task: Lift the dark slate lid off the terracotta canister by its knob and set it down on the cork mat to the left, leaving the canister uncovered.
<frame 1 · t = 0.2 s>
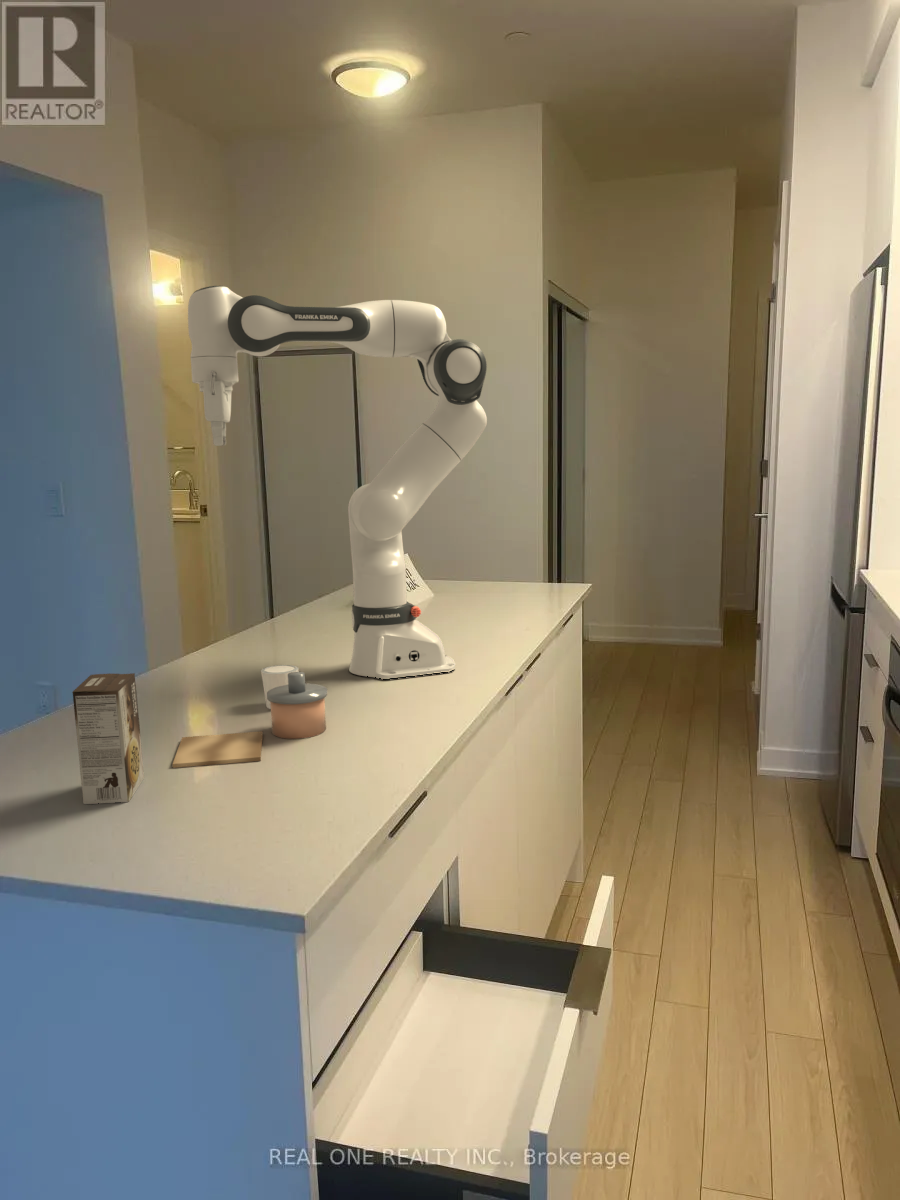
hand: (220, 445, 182), 48 cm above the counter, tool pointing down, fingers open, 8 cm apart
mat: (220, 750, 147), on the counter
lid: (297, 695, 155), point 6 cm above the counter, touching canister
canister: (299, 730, 156), on the counter
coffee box: (114, 792, 130), on the counter
white cup: (281, 706, 171), on the counter
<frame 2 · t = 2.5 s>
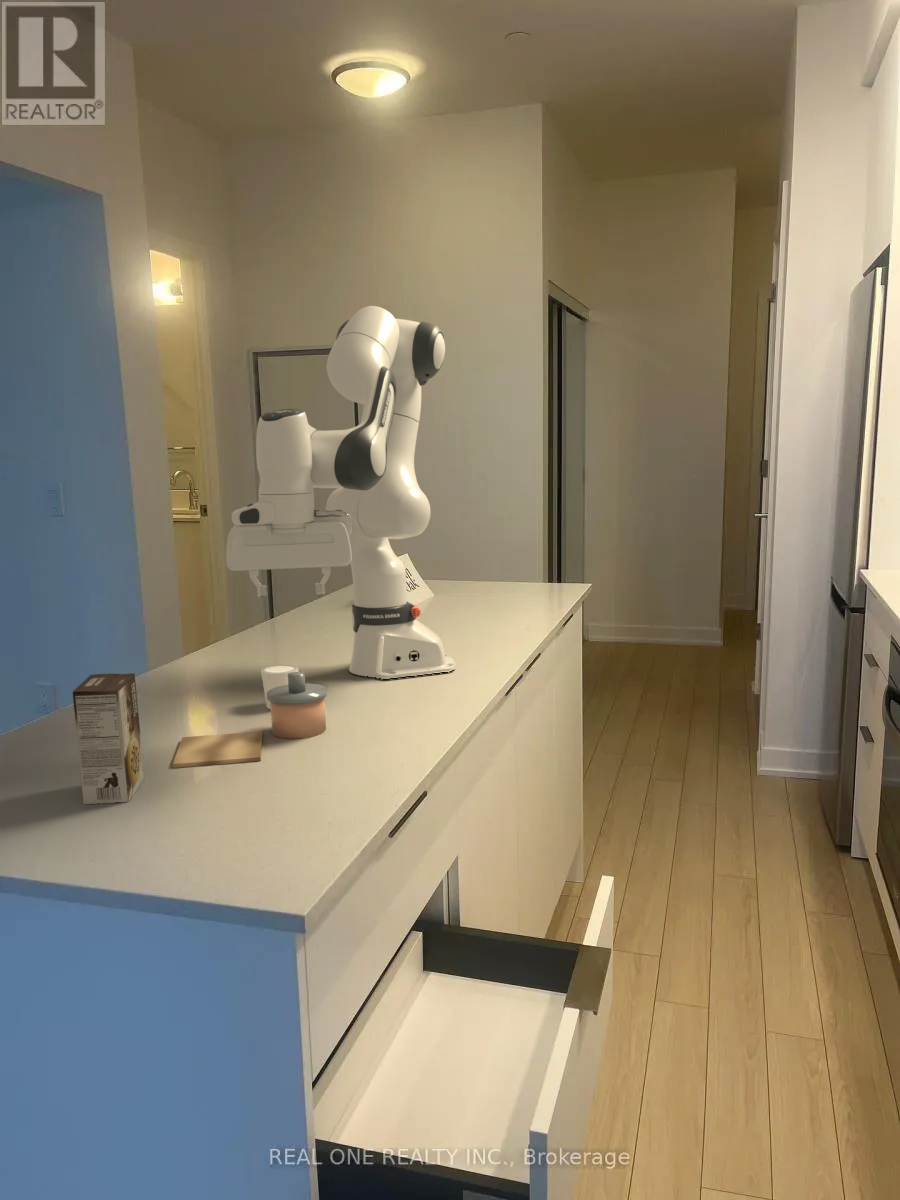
hand: (291, 595, 152), 23 cm above the counter, tool pointing down, fingers open, 8 cm apart
nothing on the counter moved.
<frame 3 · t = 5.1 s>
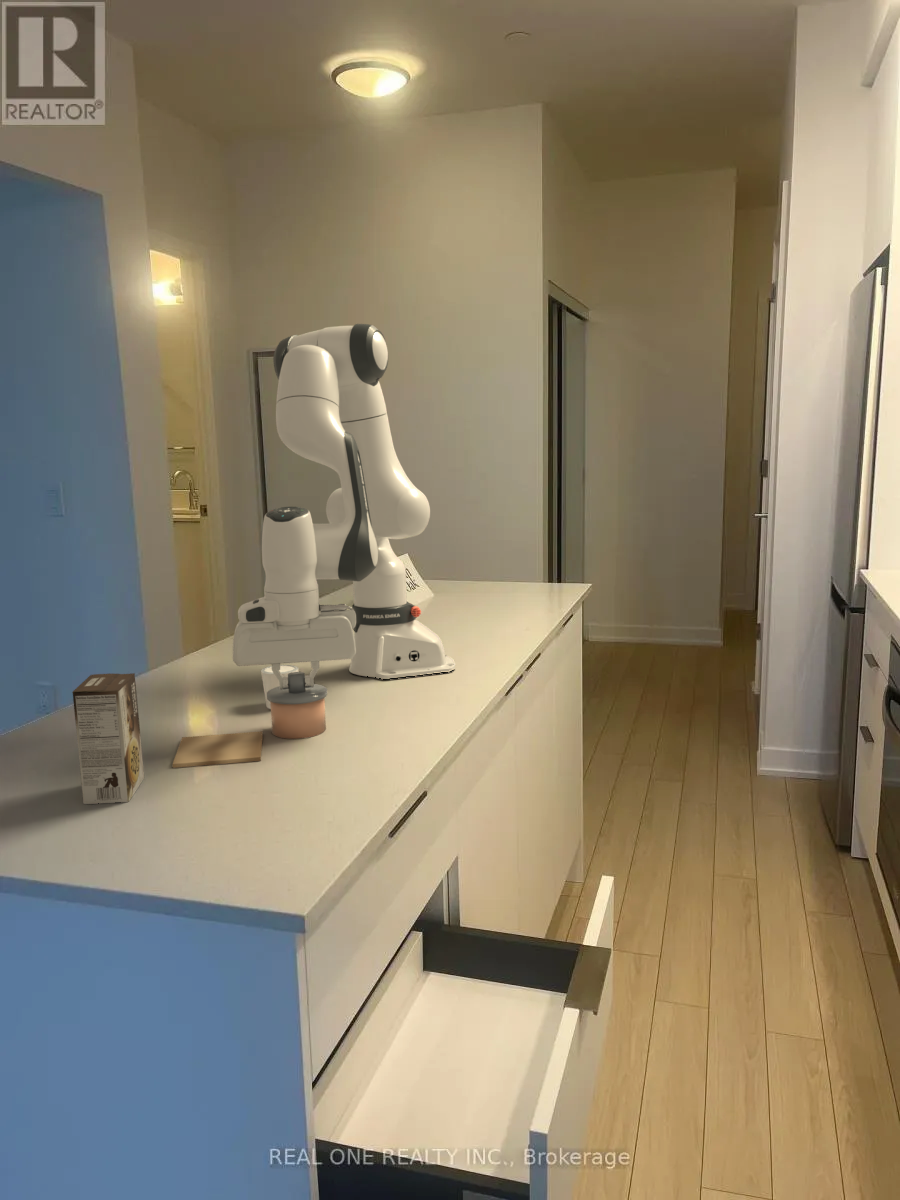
hand: (296, 687, 155), 7 cm above the counter, tool pointing down, fingers closed on lid, 3 cm apart
lid: (297, 695, 155), point 6 cm above the counter, touching canister, gripper
everything else where it was.
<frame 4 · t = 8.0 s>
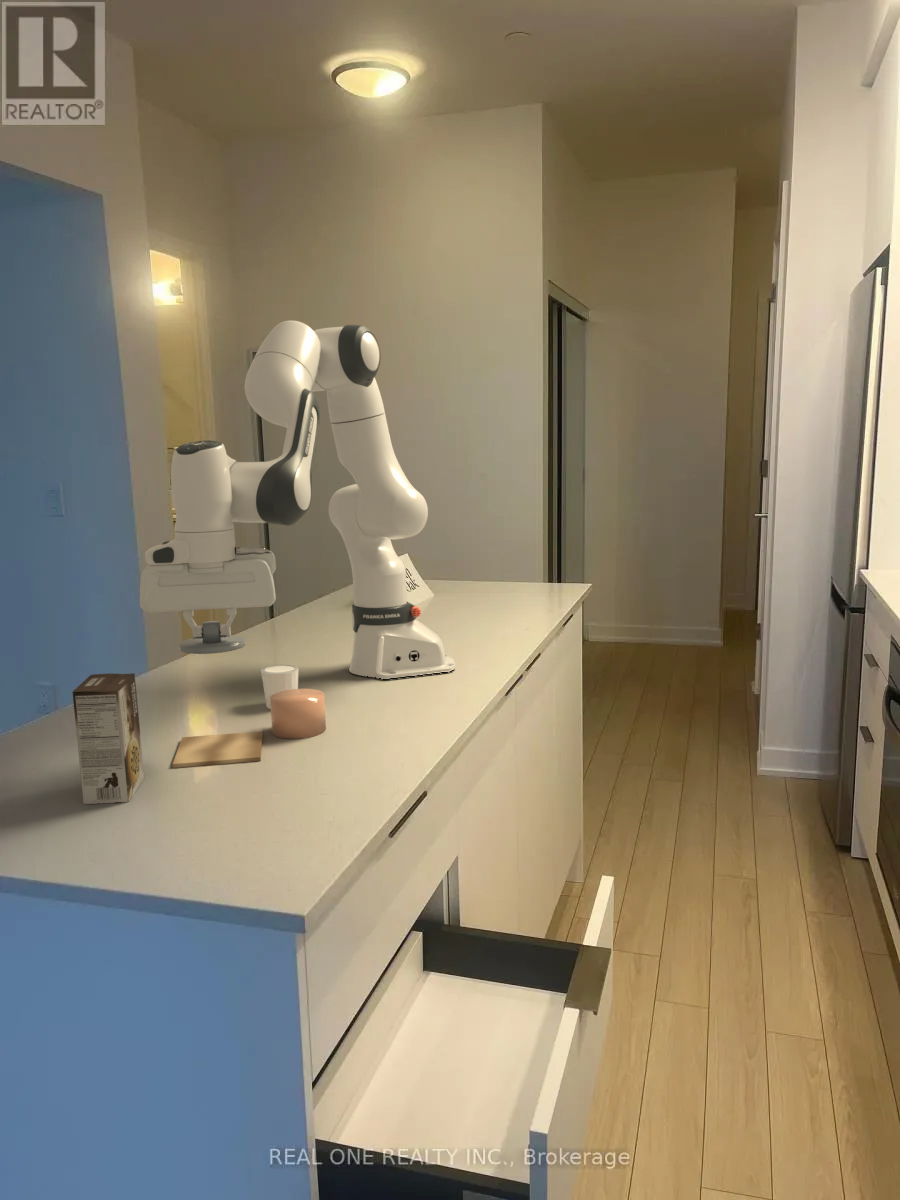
hand: (211, 637, 143), 18 cm above the counter, tool pointing down, fingers closed on lid, 3 cm apart
lid: (212, 646, 144), point 17 cm above the counter, touching gripper
everything else where it was.
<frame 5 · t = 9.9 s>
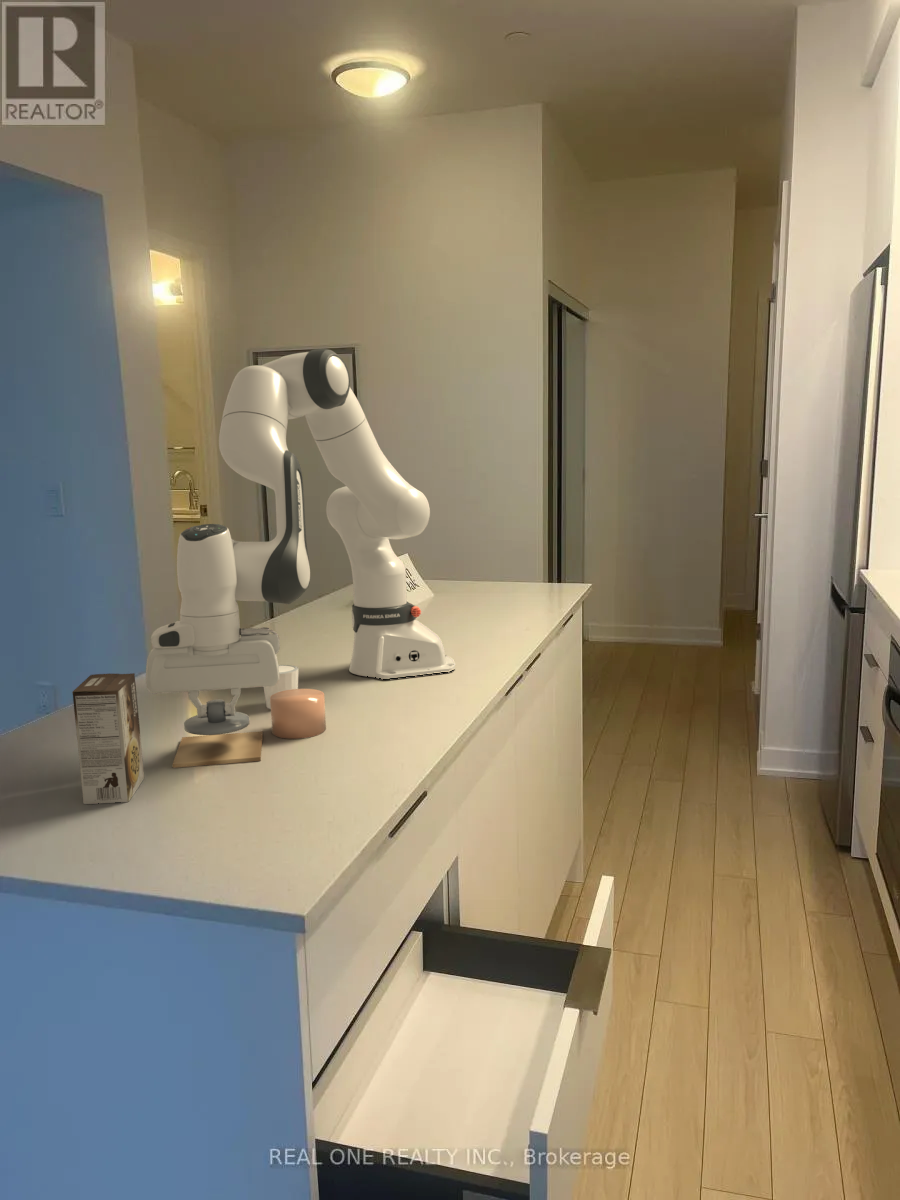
hand: (216, 716, 146), 6 cm above the counter, tool pointing down, fingers closed on lid, 3 cm apart
lid: (217, 725, 146), point 4 cm above the counter, touching gripper
everything else where it was.
when the fingers open (4 cm above the counter, at t = 11.1 s): lid drops 2 cm, resting on mat.
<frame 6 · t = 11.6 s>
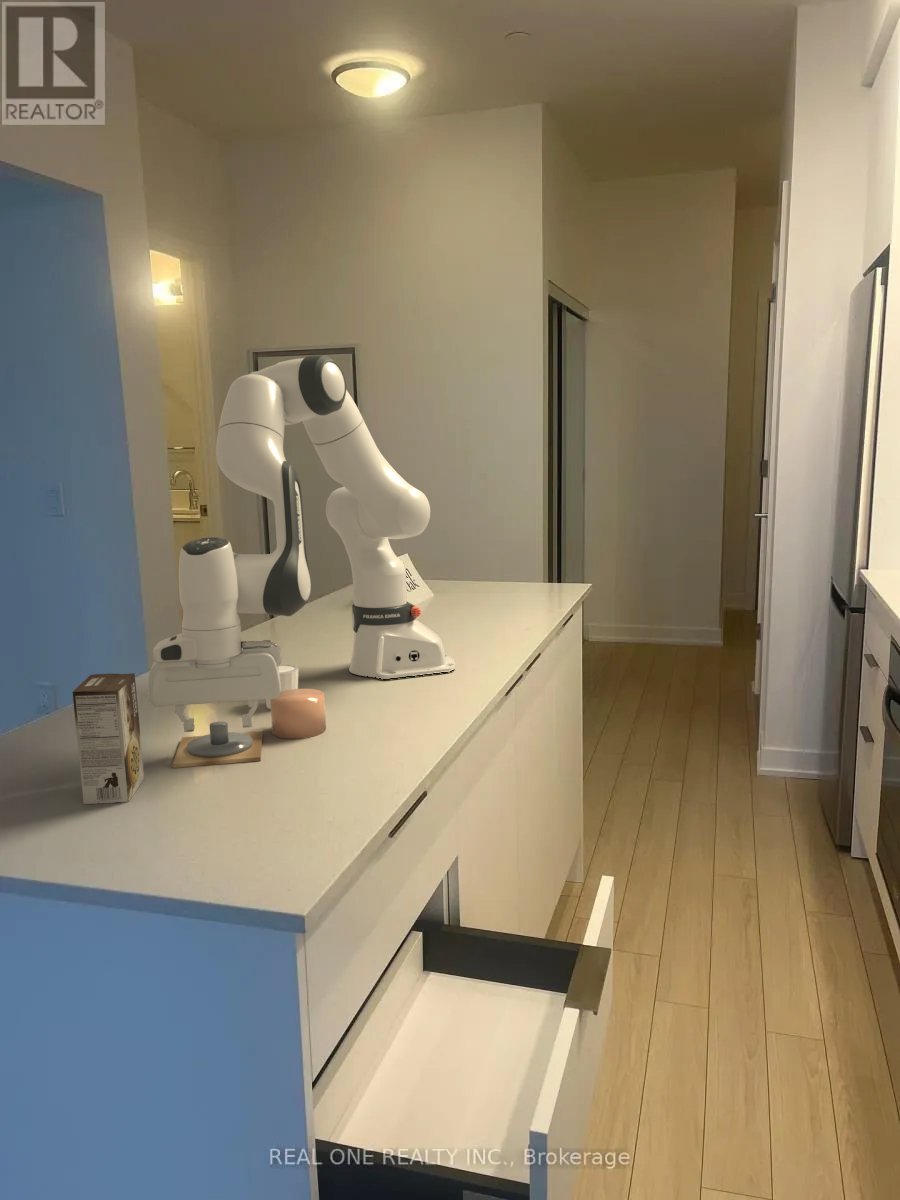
hand: (218, 728, 146), 4 cm above the counter, tool pointing down, fingers open, 8 cm apart
lid: (220, 747, 146), point 1 cm above the counter, touching mat
everything else where it was.
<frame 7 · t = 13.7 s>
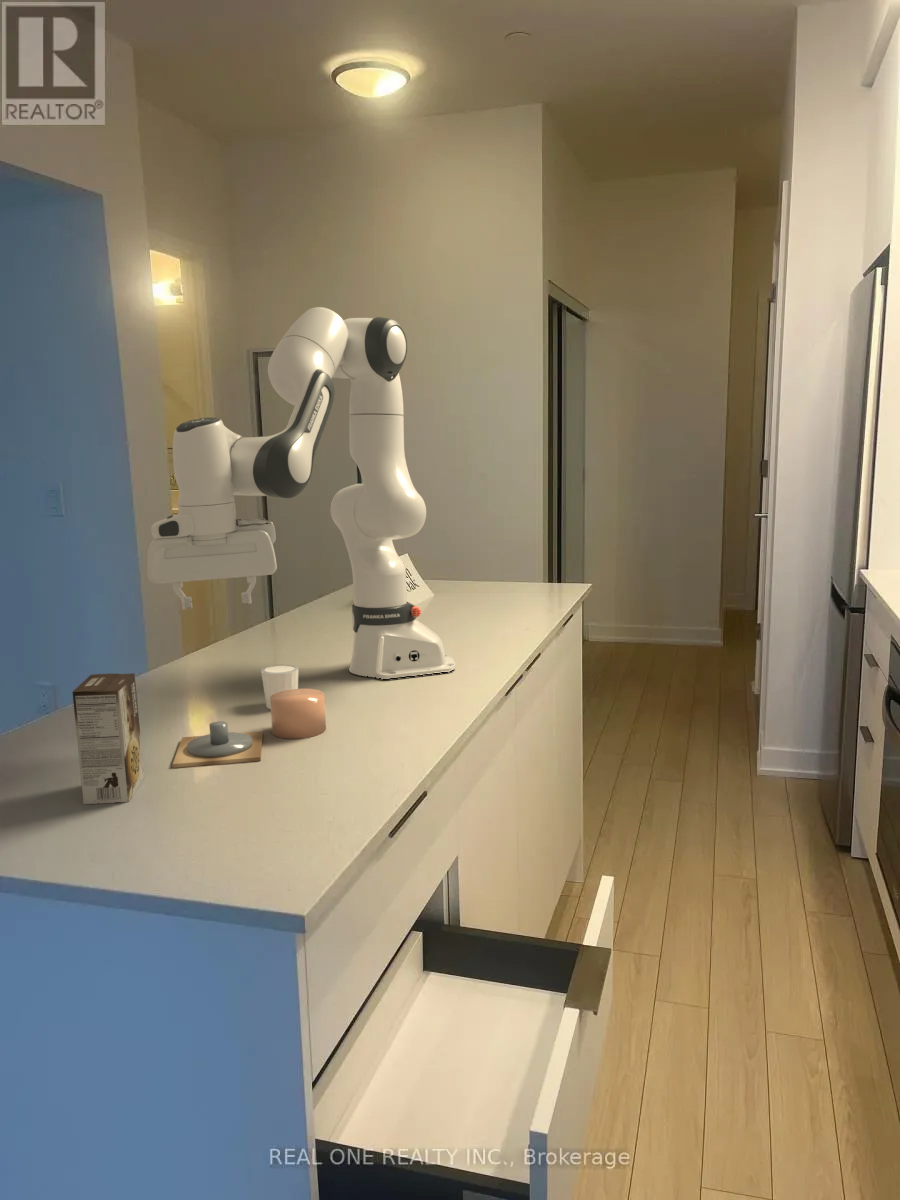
hand: (217, 606, 150), 22 cm above the counter, tool pointing down, fingers open, 8 cm apart
nothing on the counter moved.
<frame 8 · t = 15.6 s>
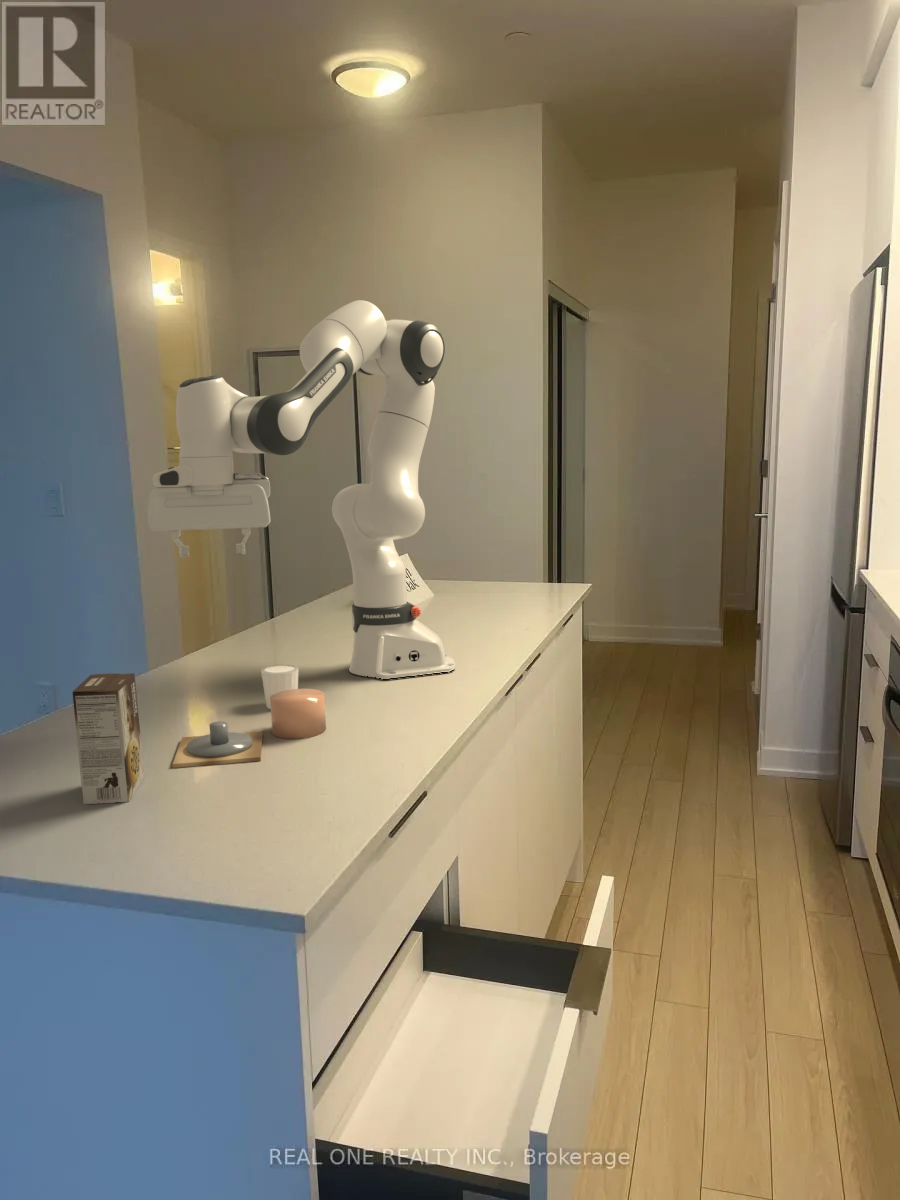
hand: (212, 555, 158), 29 cm above the counter, tool pointing down, fingers open, 8 cm apart
nothing on the counter moved.
at the end: lid inside the target area on the mat (0.0 cm from its centre), point 0.6 cm above the mat's base; lid touching mat; the gripper is holding nothing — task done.
